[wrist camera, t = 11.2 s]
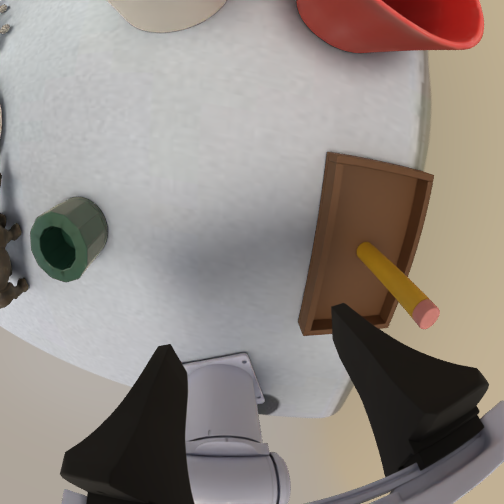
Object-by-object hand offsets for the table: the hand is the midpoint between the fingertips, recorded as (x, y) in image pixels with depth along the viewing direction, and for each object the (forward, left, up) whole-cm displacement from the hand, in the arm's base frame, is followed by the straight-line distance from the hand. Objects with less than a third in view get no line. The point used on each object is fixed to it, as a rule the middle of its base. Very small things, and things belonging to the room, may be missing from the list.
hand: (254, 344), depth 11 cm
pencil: (-3, -10, -10) cm, 14 cm away
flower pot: (+17, -12, -11) cm, 23 cm away
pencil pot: (+5, +12, -10) cm, 17 cm away
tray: (-3, -10, -10) cm, 15 cm away
